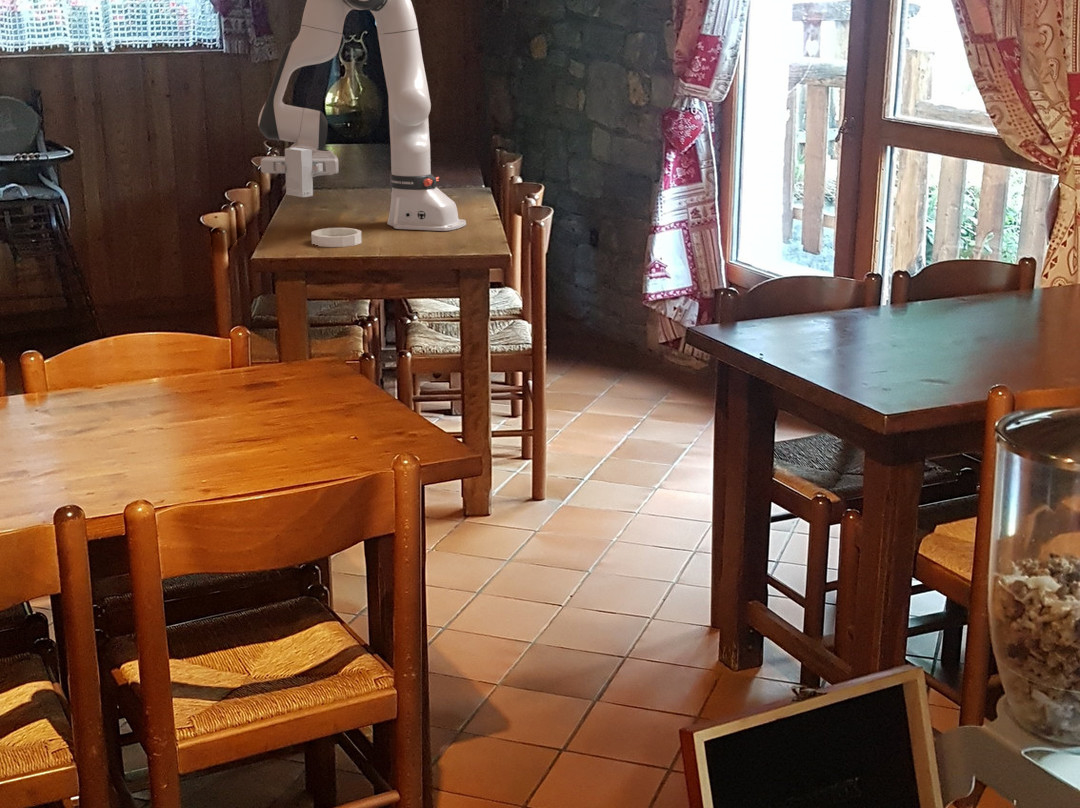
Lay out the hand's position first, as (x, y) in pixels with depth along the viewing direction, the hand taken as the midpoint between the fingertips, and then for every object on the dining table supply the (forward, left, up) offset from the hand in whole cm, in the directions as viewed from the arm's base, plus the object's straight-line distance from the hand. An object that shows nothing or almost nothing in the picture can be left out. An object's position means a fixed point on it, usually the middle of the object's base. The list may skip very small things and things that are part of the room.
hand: (298, 168), depth 319 cm
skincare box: (+1, 0, -7) cm, 7 cm away
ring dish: (-7, -5, -19) cm, 21 cm away
